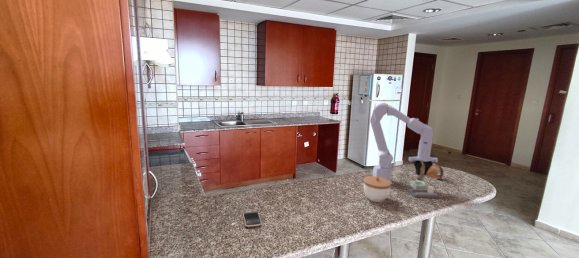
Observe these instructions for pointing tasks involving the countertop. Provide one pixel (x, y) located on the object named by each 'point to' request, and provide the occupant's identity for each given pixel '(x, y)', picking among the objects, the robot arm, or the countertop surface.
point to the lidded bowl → (376, 188)
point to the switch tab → (430, 189)
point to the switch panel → (422, 193)
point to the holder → (419, 185)
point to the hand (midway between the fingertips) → (420, 174)
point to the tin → (435, 171)
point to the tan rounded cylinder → (421, 173)
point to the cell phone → (252, 219)
